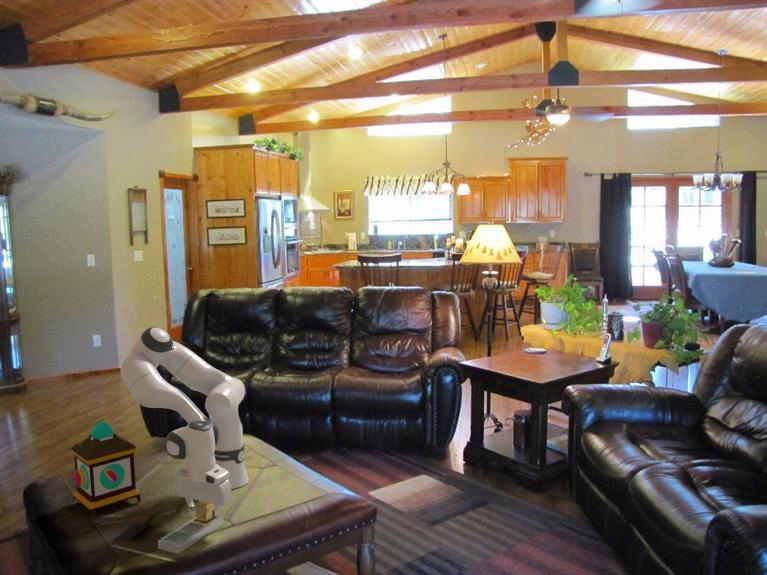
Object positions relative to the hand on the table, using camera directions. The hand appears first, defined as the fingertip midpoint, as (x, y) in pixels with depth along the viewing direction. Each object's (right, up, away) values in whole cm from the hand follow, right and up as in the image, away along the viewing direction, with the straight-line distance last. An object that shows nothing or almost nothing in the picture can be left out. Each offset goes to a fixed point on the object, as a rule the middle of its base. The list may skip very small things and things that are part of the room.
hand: (204, 512), depth 202 cm
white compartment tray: (-2, -6, -6) cm, 8 cm away
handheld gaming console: (-21, -6, -3) cm, 22 cm away
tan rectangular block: (0, -4, +1) cm, 4 cm away
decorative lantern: (-40, -4, +20) cm, 45 cm away
